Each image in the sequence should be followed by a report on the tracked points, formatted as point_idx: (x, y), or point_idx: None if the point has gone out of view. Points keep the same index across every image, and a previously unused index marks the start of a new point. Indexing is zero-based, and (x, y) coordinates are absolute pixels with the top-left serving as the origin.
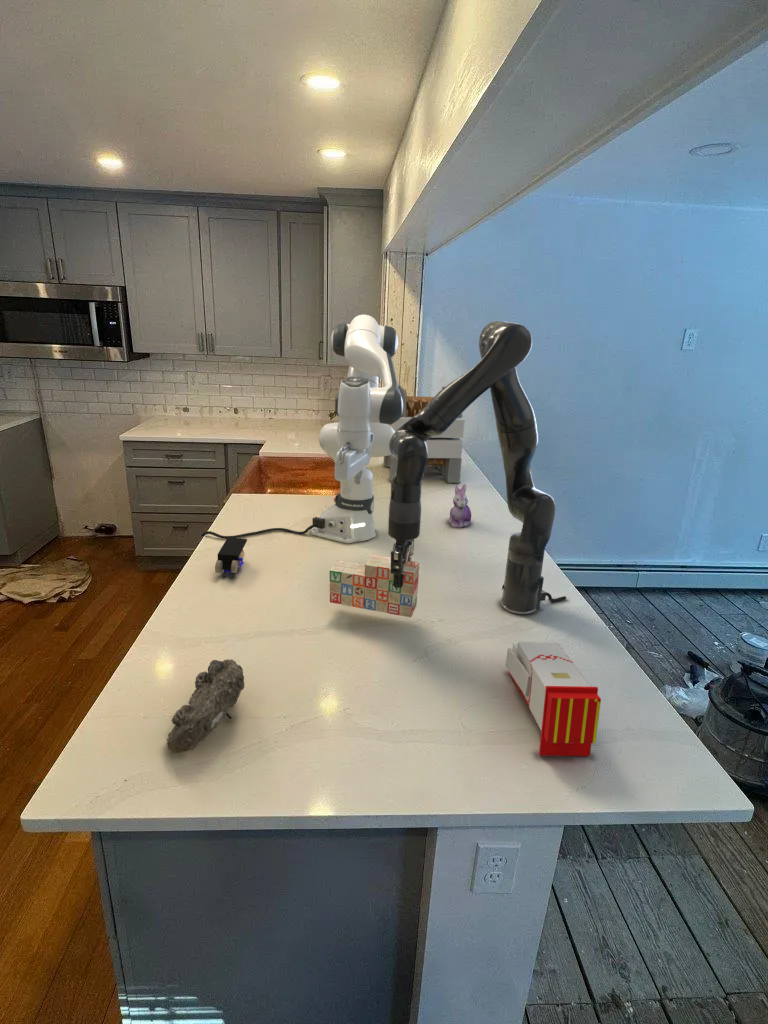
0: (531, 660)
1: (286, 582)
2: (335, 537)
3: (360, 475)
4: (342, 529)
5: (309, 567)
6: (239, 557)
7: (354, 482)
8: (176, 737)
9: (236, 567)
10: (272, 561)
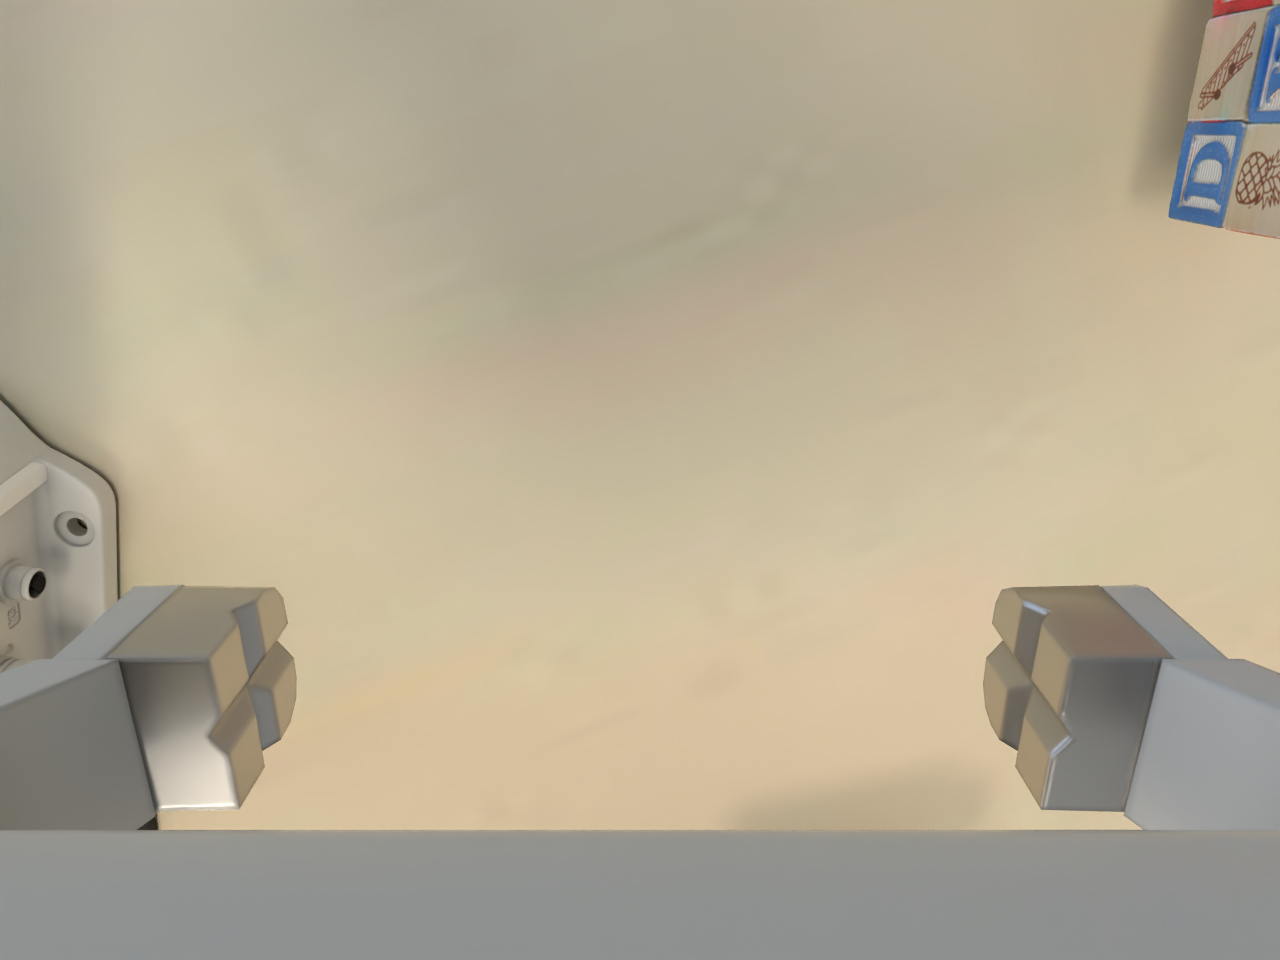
0: None
1: (849, 624)
2: (96, 596)
3: (50, 729)
4: (22, 584)
5: (602, 582)
6: None
7: (282, 723)
8: None
9: None
10: (609, 798)
